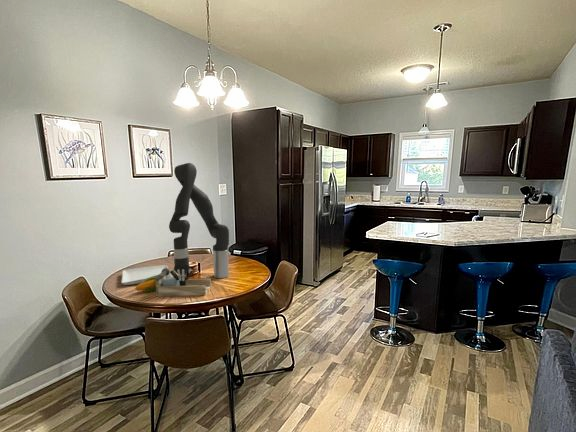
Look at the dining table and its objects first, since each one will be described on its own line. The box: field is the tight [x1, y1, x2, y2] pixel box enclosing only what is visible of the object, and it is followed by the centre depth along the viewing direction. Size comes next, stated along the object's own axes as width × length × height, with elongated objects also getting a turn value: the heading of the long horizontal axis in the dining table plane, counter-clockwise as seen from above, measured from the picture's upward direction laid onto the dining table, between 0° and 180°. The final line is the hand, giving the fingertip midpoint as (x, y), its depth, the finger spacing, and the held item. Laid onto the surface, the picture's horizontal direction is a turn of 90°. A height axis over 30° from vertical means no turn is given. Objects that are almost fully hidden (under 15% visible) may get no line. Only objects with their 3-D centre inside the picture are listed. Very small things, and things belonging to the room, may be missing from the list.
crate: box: [162, 276, 179, 286], centre depth 168 cm, size 7×7×6 cm
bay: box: [155, 267, 212, 297], centre depth 169 cm, size 13×28×11 cm, turn 91°
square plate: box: [120, 264, 172, 286], centre depth 194 cm, size 27×27×4 cm
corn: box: [134, 275, 168, 293], centre depth 172 cm, size 7×8×20 cm
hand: (182, 287), depth 168 cm, fingers closed
